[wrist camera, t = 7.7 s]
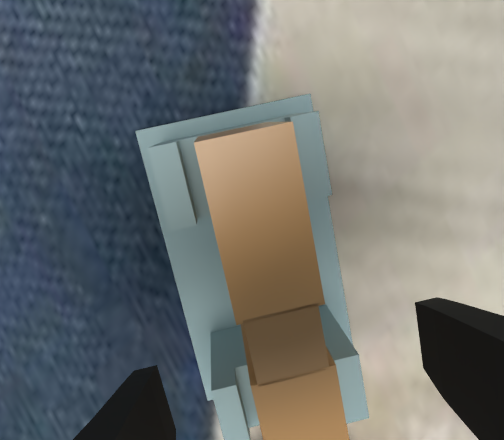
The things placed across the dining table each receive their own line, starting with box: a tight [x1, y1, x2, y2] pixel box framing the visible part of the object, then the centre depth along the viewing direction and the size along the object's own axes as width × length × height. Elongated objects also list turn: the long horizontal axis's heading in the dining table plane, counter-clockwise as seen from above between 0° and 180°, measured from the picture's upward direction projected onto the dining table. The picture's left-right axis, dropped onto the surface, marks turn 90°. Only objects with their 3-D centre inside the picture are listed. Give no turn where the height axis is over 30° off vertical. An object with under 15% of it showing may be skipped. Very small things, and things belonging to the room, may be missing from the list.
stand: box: [135, 94, 369, 440], centre depth 19 cm, size 8×14×6 cm, turn 12°
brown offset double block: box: [194, 122, 349, 440], centre depth 15 cm, size 3×12×5 cm, turn 12°
